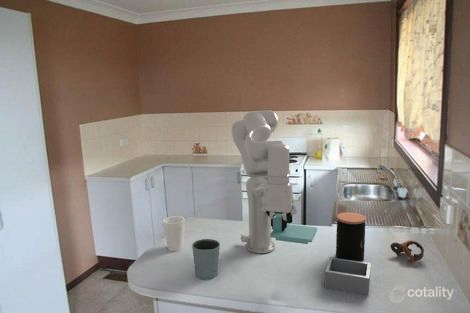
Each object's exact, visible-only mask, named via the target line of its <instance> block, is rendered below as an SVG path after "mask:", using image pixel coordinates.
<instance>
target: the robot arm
mask: <svg viewBox="0 0 470 313" xmlns="http://www.w3.org/2000/svg"><path fill="white" fill-rule="evenodd" d="M278 125H279V118H278V115H277V114H276V113H275V111H273V110H270V109H269V110H251V111H249V112H246V113H245V114H244V116H243V118H242V119H240V120H236V121H235V122H234V123H232V126H231V137H232V141H233V143H234V145H235V146H236V148H237V149H238V151H239V153H240V156H241V160H242V164H243V169H244V171H245V175H246V176H248V179H247V180H246V183H245V189H246V196H247V202H248V203H247V205H248V231H249V232H248V235H243V234H241V235H240V240H241V243H242V242H243V243H246V244H245V249H246V251H248V252H250V253H254V254H268V253H271V252H273V251H274V250H275V249H276V243H275V242H274V241H273V240H272V238H271V237H270V234H271V233H272V231H273V217H274V216H275V215H276V213H280V214H283V220H282V231H284V230H285V228H287V224H288V219H289V218H290V217H291V216H294V215H296V214H297V213H298V210H297V208H296V206H295V204H294V202H295V201H294V193H293V192H294V191H293V185H292V183H291V182H290V147H289V146H288V145H287V144H285V142H284V141H282V140H269V139H270V137H271V135H272V133H274V131H275V130H276V129H277V127H278Z"/></svg>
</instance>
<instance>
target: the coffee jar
mask: <svg viewBox="0 0 470 313" xmlns="http://www.w3.org/2000/svg"><path fill="white" fill-rule="evenodd" d="M336 219H337V221H336V235H335V236H336V237H335V238H336V244H335V258H338V259H345V260H352V261H360V262H364V260H365V246H366V244H365V243H366V241H365V240H366V219H367V218H366V216H365V215H363V214H361V213H357V212H351V211H350V212H349V211H348V212H345V211H344V212H341V213H338V214H337V216H336Z"/></svg>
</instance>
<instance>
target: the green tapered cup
mask: <svg viewBox="0 0 470 313" xmlns="http://www.w3.org/2000/svg"><path fill="white" fill-rule="evenodd" d="M220 246H221V244H220V242H219V241H218V240H216V239H212V238H203V239H198V240H196V241H194V242H192V245H191V247H192V256H193V263H194V274H195V277H196V278H197V279H199V280H203V281H208V280H213V279H215V278H216V277H217V276H218V275H219V262H220V258H219V257H220Z"/></svg>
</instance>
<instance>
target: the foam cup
mask: <svg viewBox="0 0 470 313" xmlns="http://www.w3.org/2000/svg"><path fill="white" fill-rule="evenodd" d="M162 226H163V229H164V235H165V240H166V245H167V249H168V251H170V252H178V251H181V250H182V249H183V248H184V239H185V238H184V237H185V226H186V219H185V217H184V216H182V215H174V216H173V215H172V216H167V217H165V218H163V219H162Z"/></svg>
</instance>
